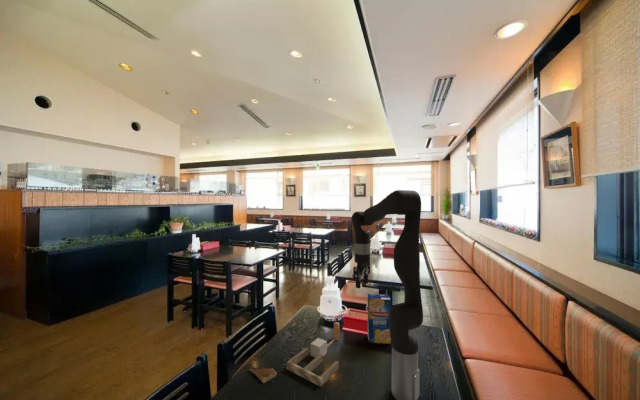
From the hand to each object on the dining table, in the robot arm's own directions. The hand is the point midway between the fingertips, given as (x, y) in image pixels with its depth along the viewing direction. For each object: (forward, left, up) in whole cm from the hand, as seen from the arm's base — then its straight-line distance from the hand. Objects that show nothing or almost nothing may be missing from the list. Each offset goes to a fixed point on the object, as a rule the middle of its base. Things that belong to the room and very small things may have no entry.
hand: (362, 285), depth 123 cm
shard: (+24, +42, -31) cm, 57 cm away
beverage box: (-4, -12, -30) cm, 33 cm away
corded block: (+14, +9, -30) cm, 34 cm away
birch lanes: (+10, +26, -30) cm, 41 cm away
